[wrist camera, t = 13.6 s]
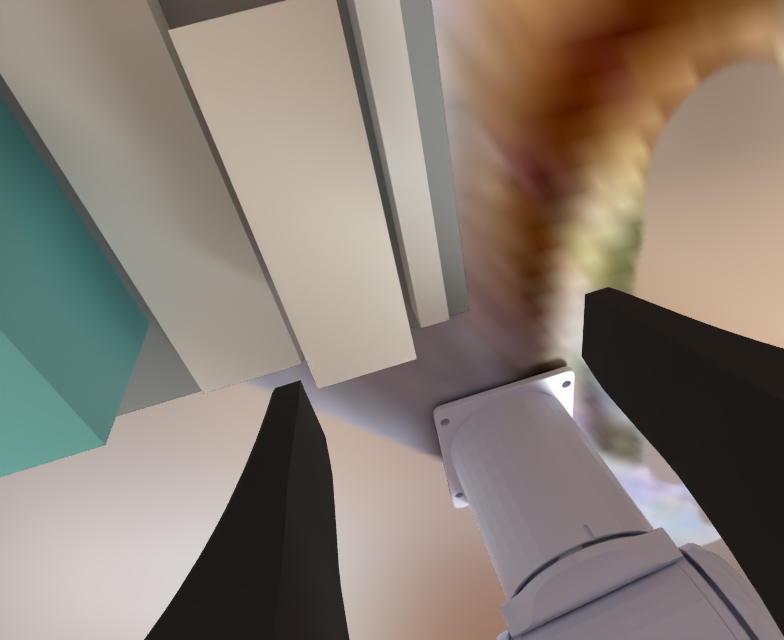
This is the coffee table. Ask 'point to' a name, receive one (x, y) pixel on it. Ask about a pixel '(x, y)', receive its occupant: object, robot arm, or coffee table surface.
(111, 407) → the teal rectangular block
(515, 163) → the coffee table surface
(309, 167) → the beige rectangular block
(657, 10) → the coffee table surface
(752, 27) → the coffee table surface
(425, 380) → the coffee table surface
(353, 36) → the ribbed slotted plate
